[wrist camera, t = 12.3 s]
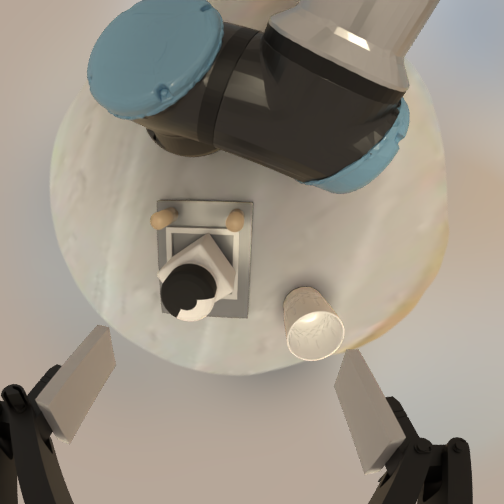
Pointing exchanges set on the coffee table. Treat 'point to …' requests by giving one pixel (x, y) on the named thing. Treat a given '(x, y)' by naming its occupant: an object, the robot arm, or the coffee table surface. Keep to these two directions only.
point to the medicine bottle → (196, 280)
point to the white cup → (311, 325)
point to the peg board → (223, 233)
